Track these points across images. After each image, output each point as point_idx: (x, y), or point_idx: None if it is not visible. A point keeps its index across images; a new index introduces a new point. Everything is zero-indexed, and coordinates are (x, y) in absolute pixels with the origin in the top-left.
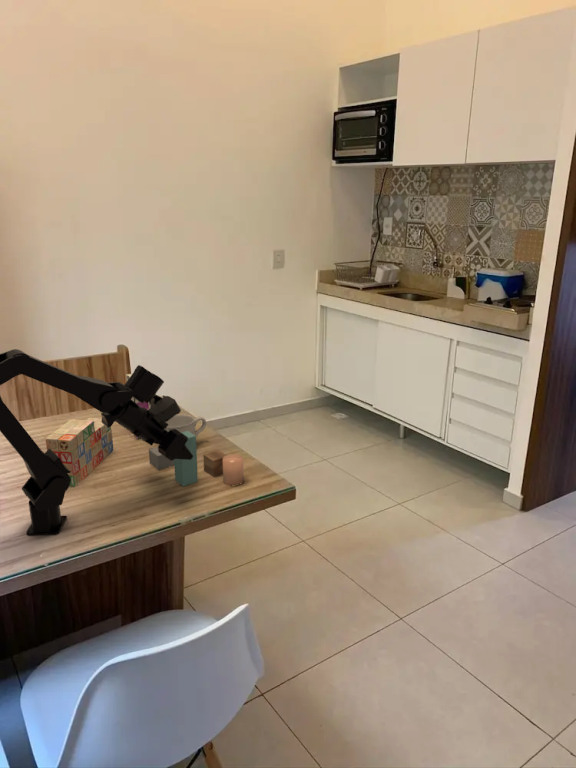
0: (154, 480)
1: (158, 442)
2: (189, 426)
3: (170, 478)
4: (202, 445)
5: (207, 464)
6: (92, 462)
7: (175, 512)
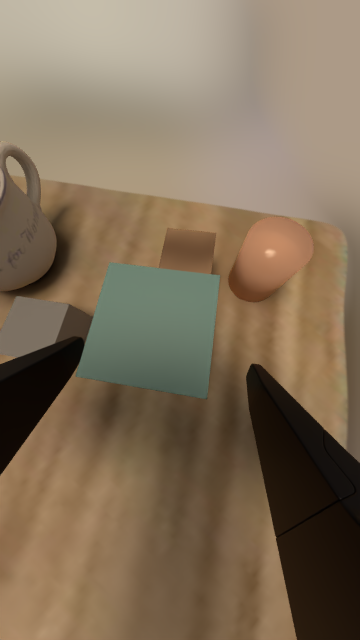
0: (112, 408)
1: (29, 425)
2: (11, 198)
3: None
4: (71, 223)
5: None
6: None
7: None
